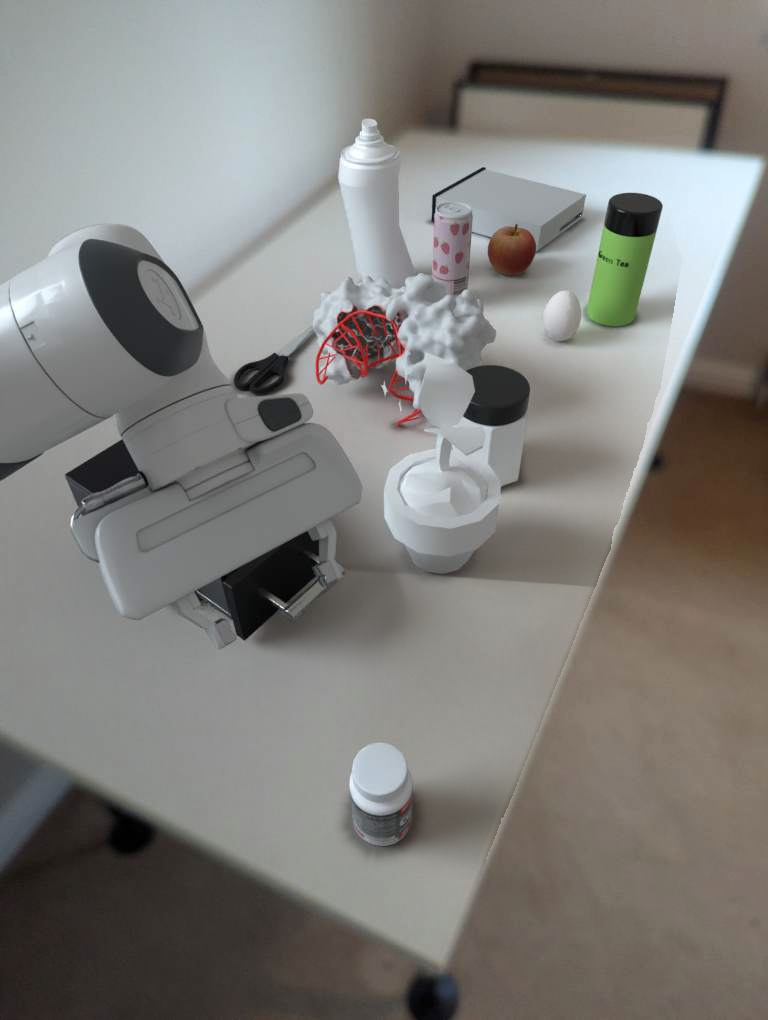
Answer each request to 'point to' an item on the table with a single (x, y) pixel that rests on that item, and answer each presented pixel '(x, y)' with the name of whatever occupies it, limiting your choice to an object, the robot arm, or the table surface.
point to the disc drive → (514, 204)
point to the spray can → (374, 207)
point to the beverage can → (452, 246)
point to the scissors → (269, 367)
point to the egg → (562, 316)
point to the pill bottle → (381, 794)
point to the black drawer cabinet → (101, 472)
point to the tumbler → (623, 258)
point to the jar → (499, 418)
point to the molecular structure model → (397, 330)
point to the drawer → (268, 586)
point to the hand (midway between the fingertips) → (281, 612)
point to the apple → (511, 250)
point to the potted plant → (443, 478)
